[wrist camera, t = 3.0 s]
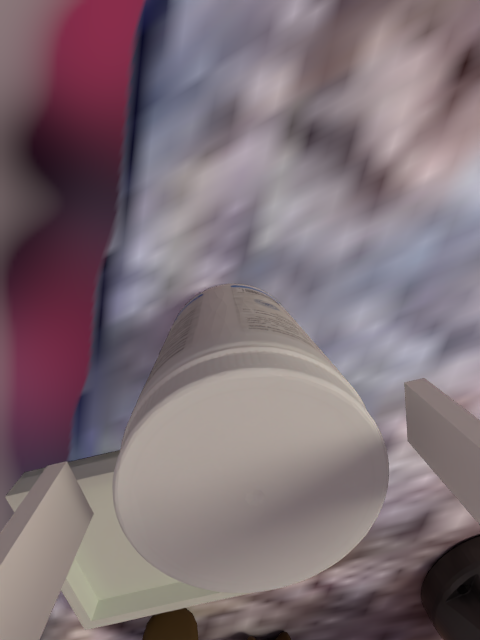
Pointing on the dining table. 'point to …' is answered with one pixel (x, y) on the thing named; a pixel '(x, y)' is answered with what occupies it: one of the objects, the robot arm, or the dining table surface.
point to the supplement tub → (246, 451)
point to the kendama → (180, 627)
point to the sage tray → (112, 558)
